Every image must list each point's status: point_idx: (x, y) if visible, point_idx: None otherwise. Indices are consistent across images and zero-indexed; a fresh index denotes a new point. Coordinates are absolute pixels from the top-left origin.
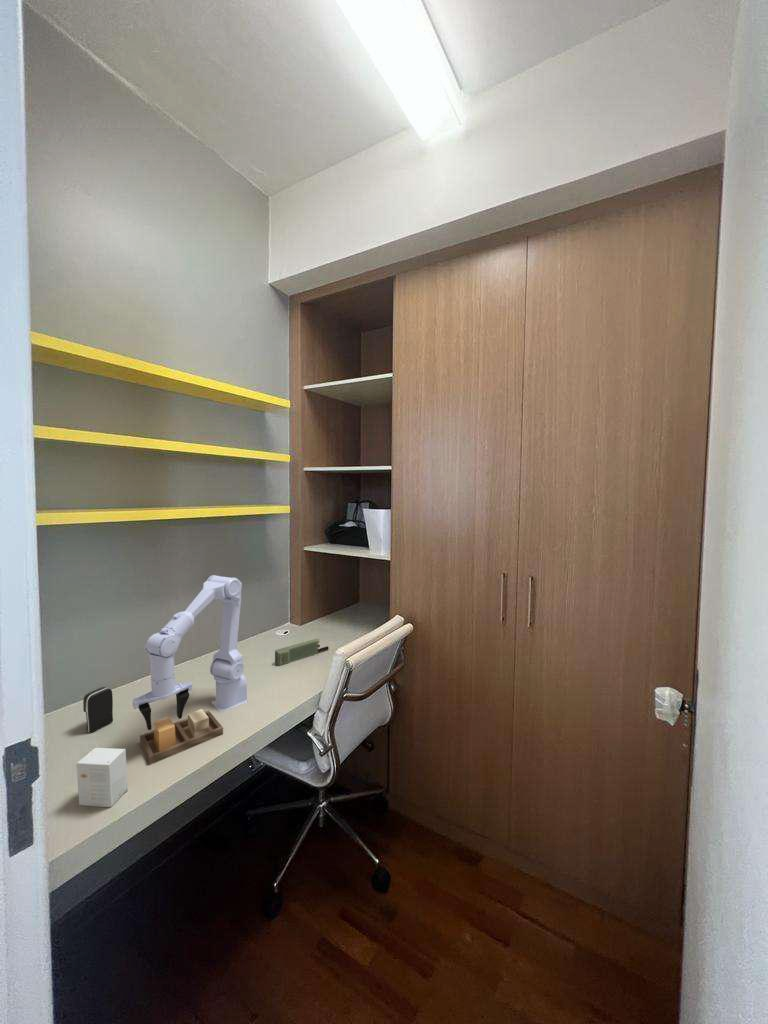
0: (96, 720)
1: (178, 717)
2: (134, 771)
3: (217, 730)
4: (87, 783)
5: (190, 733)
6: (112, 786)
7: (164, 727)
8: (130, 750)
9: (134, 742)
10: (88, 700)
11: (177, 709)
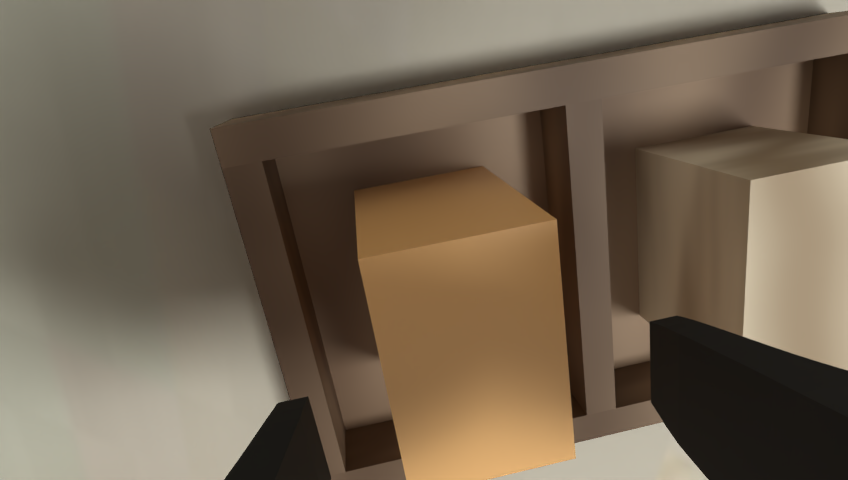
0: None
1: (654, 379)
2: (225, 447)
3: None
4: None
5: (635, 216)
6: None
7: (472, 438)
8: (157, 171)
9: (175, 49)
10: None
11: (720, 387)
